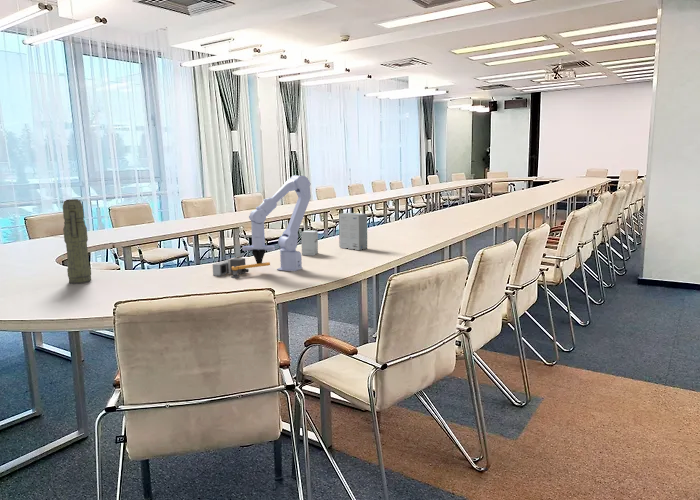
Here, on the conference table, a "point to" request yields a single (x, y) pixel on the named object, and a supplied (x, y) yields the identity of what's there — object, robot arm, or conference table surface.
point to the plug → (236, 263)
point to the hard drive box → (353, 231)
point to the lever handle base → (235, 274)
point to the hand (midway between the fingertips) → (259, 266)
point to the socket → (220, 268)
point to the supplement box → (309, 242)
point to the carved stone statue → (76, 242)
